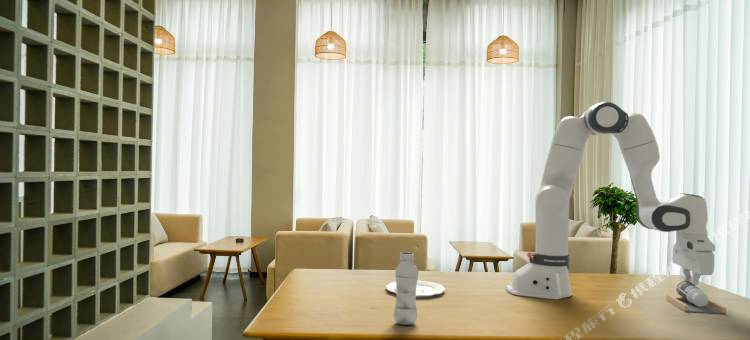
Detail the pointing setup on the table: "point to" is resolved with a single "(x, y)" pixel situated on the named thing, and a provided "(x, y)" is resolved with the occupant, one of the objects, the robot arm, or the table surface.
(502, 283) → the table surface
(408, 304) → the plastic bottle
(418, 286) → the plate
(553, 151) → the robot arm
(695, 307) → the wooden tray
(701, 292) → the pill bottle
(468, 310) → the table surface
